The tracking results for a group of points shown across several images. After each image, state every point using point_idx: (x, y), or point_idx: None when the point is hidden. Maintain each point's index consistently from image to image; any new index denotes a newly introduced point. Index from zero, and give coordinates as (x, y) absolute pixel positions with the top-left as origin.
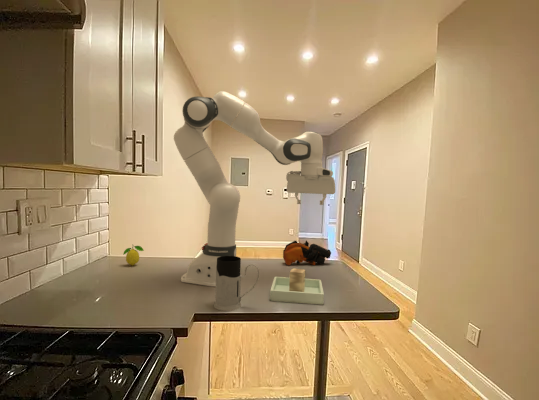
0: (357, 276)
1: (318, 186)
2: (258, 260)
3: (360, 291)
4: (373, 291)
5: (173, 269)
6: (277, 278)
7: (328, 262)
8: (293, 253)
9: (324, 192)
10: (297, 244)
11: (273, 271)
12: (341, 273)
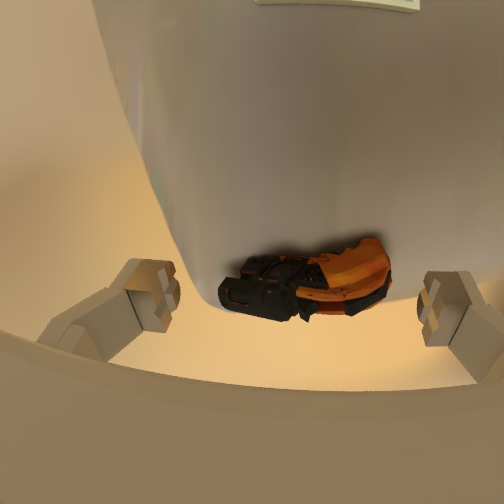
0: (145, 163)
1: (66, 493)
2: None
3: (140, 25)
4: (109, 41)
5: None
6: (408, 2)
7: None
8: (356, 259)
9: (26, 354)
10: (343, 292)
11: (420, 162)
12: (191, 182)
